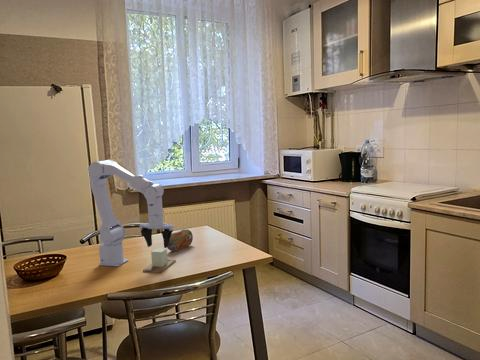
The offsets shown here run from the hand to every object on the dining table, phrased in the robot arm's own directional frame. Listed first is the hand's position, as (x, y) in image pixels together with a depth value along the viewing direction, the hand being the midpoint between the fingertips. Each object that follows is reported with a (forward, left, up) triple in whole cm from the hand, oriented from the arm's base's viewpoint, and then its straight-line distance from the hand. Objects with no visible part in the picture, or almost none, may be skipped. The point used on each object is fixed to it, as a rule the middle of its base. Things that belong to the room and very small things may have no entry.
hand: (158, 246), depth 157 cm
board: (0, 0, -9) cm, 9 cm away
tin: (-2, +23, -9) cm, 25 cm away
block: (0, 0, -8) cm, 8 cm away
